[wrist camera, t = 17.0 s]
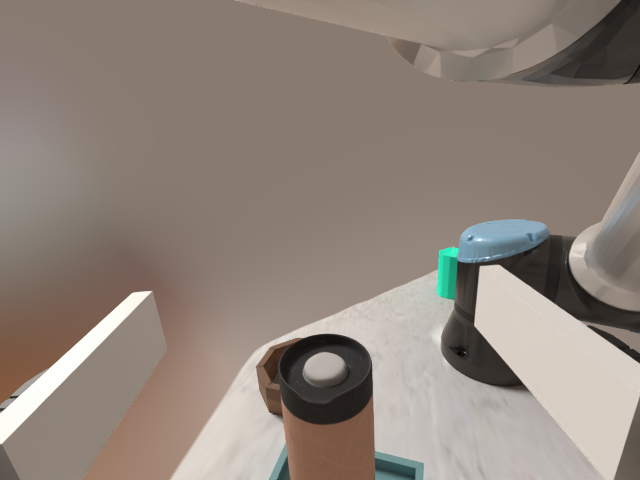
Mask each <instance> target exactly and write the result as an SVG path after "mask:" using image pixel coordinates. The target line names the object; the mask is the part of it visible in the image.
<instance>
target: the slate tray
mask: <svg viewBox="0 0 640 480" xmlns="http://www.w3.org/2000/svg"><path fill="white" fill-rule="evenodd" d="M423 470H424V463H421V462H417V461H412V460H408V459H404V458H400V457H396V456H392V455H388V454H384V453H380V452H376V451H375V480H423ZM269 480H291V479H290V472H289V463H288V455H287V446H286V444H285V446H284V448H283V450H282V453H281V455H280V457H279V459H278V461H277V463H276V466H275V468H274V470H273V472H272V474H271V476H270V478H269Z"/></svg>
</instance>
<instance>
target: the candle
mask: <svg viewBox="0 0 640 480" xmlns="http://www.w3.org/2000/svg"><path fill="white" fill-rule="evenodd" d="M458 251H459V249H458V248H454V247H453V248H447V249H444V250H440V251H439V266H438V283H437V294H439V295H440V296H441V297H444V298H447V299H455V291H456V277H457V262H458V260H457V254H458Z"/></svg>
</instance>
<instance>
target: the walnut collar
mask: <svg viewBox="0 0 640 480" xmlns="http://www.w3.org/2000/svg"><path fill="white" fill-rule="evenodd" d="M301 339H303V338H295V339H292V340H289V341H287V342H284V343H281V344H278V345H275V346H272V347H270V348H269V350H268V351H267V352H266V354H265V355H264V356H263V358H262V359H261V361H260V362H259V363H258V365H257V366H256V369H257V376H258V383H259V389H260V392H261V395H262V397H263V399H264V401H265V404H266V406H267V408H268V410H269V412H271V413H275V414H279V415H283V411H282V403H281V394H280V386H279V384H275V383H271V381H272V380H273V378H274V376H275V375H276V373H277V372H278V365H279V361H280V358H281V356H282V354H283V353H284V352H285V350H286V349H287V348H288V347H290V346H291V345H292V344H294V343H295V342H297V341H299V340H301Z"/></svg>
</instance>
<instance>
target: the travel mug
mask: <svg viewBox="0 0 640 480" xmlns="http://www.w3.org/2000/svg"><path fill="white" fill-rule="evenodd" d="M278 377H279V386H280V394H281V403H282V411H283V420H284V429H285V437H286V446H287V455H288V463H289V472H290V479H291V480H375V448H374V414H373V379H372V361H371V357H370V355H369V353H368V351H367V350H366V348H365V347H364V346H363V345H362V344H360V343H359V342H357V341H356V340H354V339H352V338H349V337H346V336H343V335H337V334H319V335H313V336H309V337H306V338H303V339H301V340H299V341H297V342H295V343H294V344H292V345H291V346H290V347H288V348H287V349H286V350H285V352H284V353H283V354H282V356H281V358H280V361H279V365H278Z"/></svg>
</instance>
